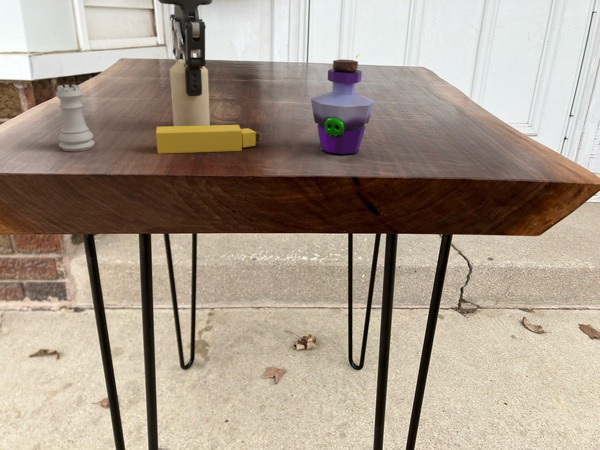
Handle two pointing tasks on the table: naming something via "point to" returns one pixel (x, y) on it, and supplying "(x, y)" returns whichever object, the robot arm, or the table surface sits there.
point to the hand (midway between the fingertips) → (190, 90)
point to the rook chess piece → (73, 121)
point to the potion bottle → (342, 111)
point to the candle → (189, 99)
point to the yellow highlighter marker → (204, 138)
